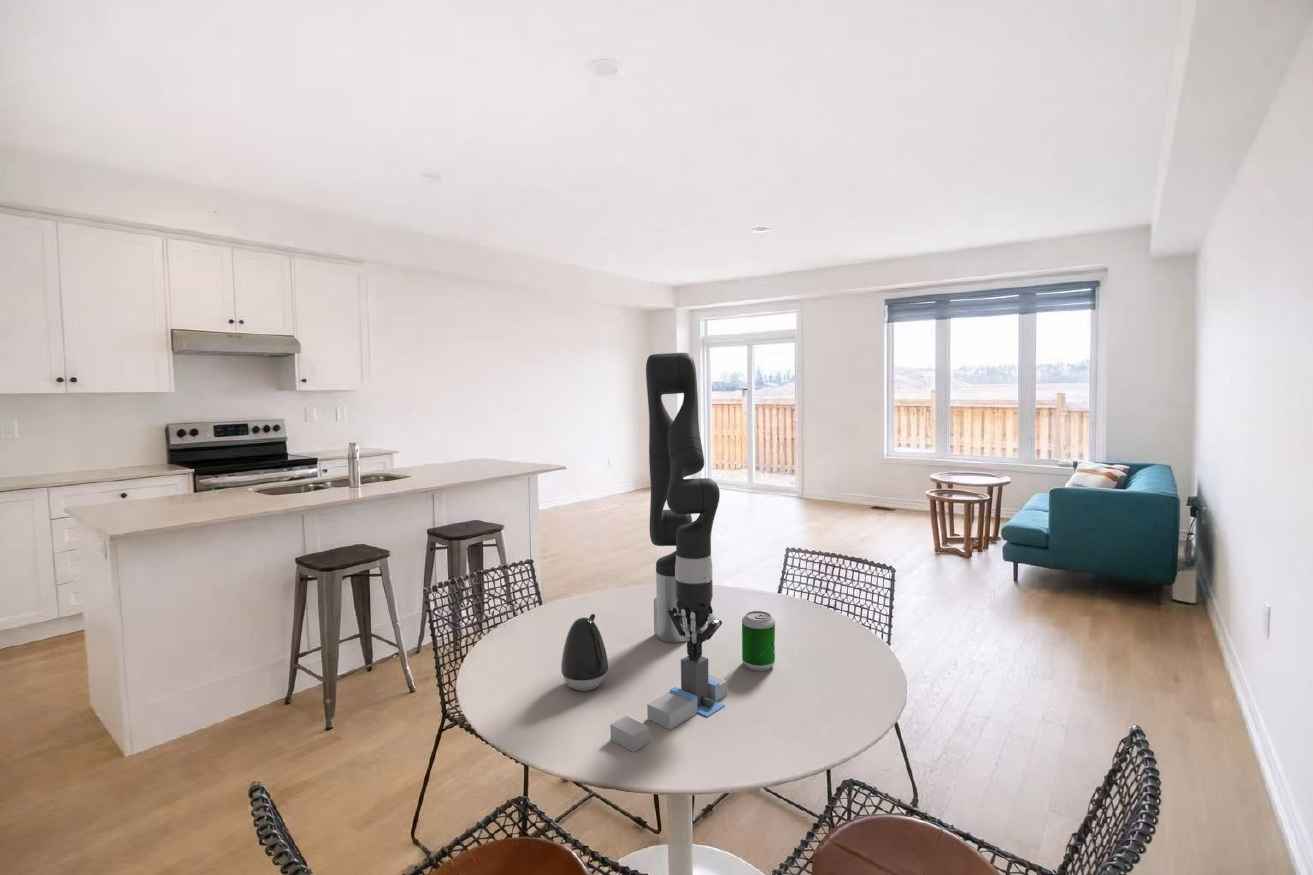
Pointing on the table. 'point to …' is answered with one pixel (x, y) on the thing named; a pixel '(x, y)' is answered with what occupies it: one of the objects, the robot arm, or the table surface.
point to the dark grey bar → (696, 679)
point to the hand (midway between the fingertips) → (694, 658)
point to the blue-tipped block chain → (667, 713)
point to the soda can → (758, 640)
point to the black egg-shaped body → (584, 656)
